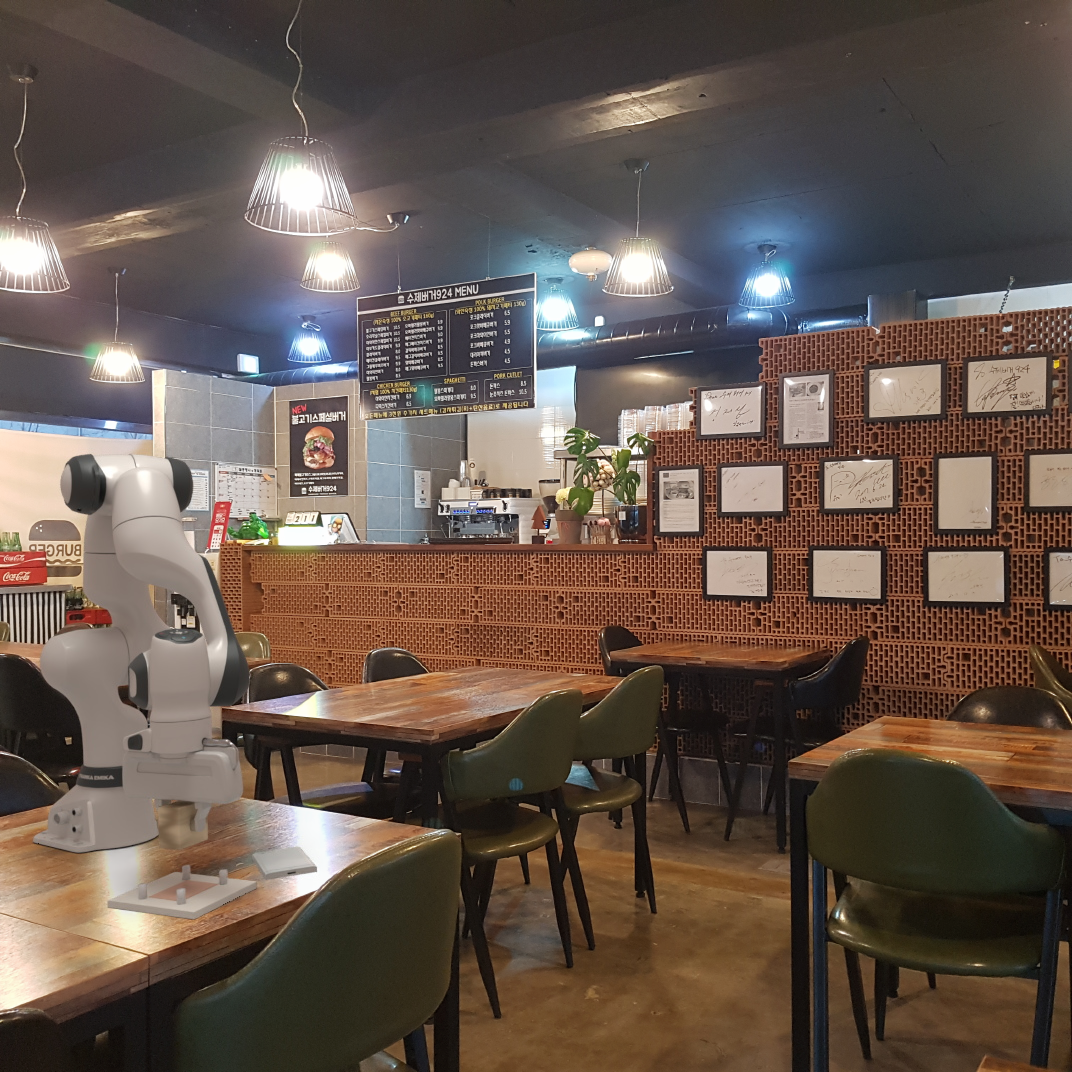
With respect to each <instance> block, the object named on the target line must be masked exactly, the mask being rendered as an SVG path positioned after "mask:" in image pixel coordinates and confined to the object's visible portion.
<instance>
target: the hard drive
mask: <svg viewBox="0 0 1072 1072" xmlns="http://www.w3.org/2000/svg"><path fill="white" fill-rule="evenodd" d="M251 860H252V862H253V863H254V865H255V866H256V868H257V869H258V870H259V872H260V874H261V875H262V877H263V878H264V880H265V881H268V880H274V879H279V878H280V879H281V878H286V877H292V876H298V875H305V874H311V873H317V872H318V866H317V865H316V864H315V863H314V862H313V861H312V860H311V858H310V857H309V856H308V855H307V853H306V852H305V851H304V850H303V848H302V847H300V846H293V847H286V848H285V847H284V848H279V849H273V850H266V851H265V850H264V851H259V852H254V853H253V854H251Z"/></svg>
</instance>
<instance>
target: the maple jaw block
mask: <svg viewBox="0 0 1072 1072" xmlns="http://www.w3.org/2000/svg"><path fill="white" fill-rule="evenodd" d="M197 811H198V809H195V802H190V801H176V800H175V801H174V802H171V803H170V804H167V805H164V806H161V807H158V812H157V818H158V819H157V828H158V830H159V834H158V849H165V850H175V851H182V850H184V849H186V848H190V847H191V846H194V845H197V844H200V843H202V842H204V841H207V840H208V839H209V826H208V816H207V817H206V818H205V819H206V828H205V830H203V831H200V832H196V831H191V830H190V820H191V819H194V818H195V816H196V813H197Z"/></svg>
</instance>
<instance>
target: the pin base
mask: <svg viewBox="0 0 1072 1072" xmlns="http://www.w3.org/2000/svg"><path fill="white" fill-rule="evenodd" d="M218 875H219V876H215V875H214V876H213V875H204V874H196V873H191V864H185V865H183V866H181V872H180V871H179V872H178V871H174V872H172V873H169V874H167V875H164V876H162V877H160V878H157V879H155V880H152V881H150V882H148V883H145V882H143V883H139V884H137V887H136V888H133V889H131V890H129V891H127V892H124V893H122V894H120V895H119V894H118V895H117V896H114V897H112V898H110V899H108V900H107V908H108V909H109V908H111V909H116V910H117V909H119V910H125V911H133V912H140V913H146V914H153V915H158V916H159V915H161V916H169V917H175V918H181V919H190V920H196V919H198V918H200V917H201V916H204V915H206V914H208V913H210V912H211V911H213V910H217V909H218V908H220V907H222V906H224V905H226V904H228V903H230V902H232V901H234V900H236V899H238V898H240V897H242V896H244V895H246V894H248V893H250V892H252V891H254V890H255V889H258V881H257V880H256V881H255V880H247V879H238V878H229V877H228V869H225V868H224V869H220V870H219V872H218ZM245 893H246V894H245ZM239 896H240V897H239ZM237 897H238V898H237ZM235 898H236V899H235ZM233 899H234V900H233ZM229 901H230V902H229ZM227 902H228V903H227ZM225 903H226V904H225ZM223 904H224V905H223Z"/></svg>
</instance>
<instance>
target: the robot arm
mask: <svg viewBox="0 0 1072 1072" xmlns="http://www.w3.org/2000/svg"><path fill="white" fill-rule="evenodd" d="M59 483H60V484H59V485H60V487H59V488H60V492H61V496H62V498H63V501H64V503H65V506H66V507H68V508H69V509H70V511H72V512H75V513H78V514H82V515H87V517H86V521H85V528H84V529H85V530H84V536H83V537H84V538H83V553H82V554H83V555H82V556H83V557H82V558H83V559H82V560H83V563H82V564H83V565H82V567H83V568H82V569H83V570H82V591H83V592H84V594H85V596H86V598H87V599H88V600H89V601H90V602H91V603H92V604H94V605H96V606H98V607H100V608H102V609H104V610H107V611H108V613H109V615H110V617H111V626H110V627H98V628H85V629H76V630H72V631H68V632H67V631H66V632H64V633H62V634H61V633H60V634H58V635H54V636H52V637H50V638H49V639H48V641H46V643H45V644H44V646H43V648H42V650H41V653H40V657H39V669H40V673H41V675H42V677H43V679H44V680H45V681H46V683H47V684H48V685H49V686H51V688H53V689H55V690H56V691H57V692H59V693H61V694H62V695H63V696H64V697H66V698H67V700H68V701H69V702H70V704H71V705H72V706H73V707H74V710H75V712H76V714H77V716H78V719H79V723H80V728H81V737H82V750H83V751H82V752H83V753H82V754H83V756H82V758H83V764H81V766H77V767H75V768H72V769H71V771H74V772H72V773H71V775H72V776H73V775H74V776H75V775H77V777H76V781H75V785H74V786H73V787H72V788H70V790H69V791H68V792H67V793H65V794H64V795H63V796H61V797H60V798H59V799H58V800H57V801H56V802H55V803H53V805H52V806H51V807H50V809H49V812H48V817H47V829H45V830H43V831H41V832H38V833H37V834H35V835H34V836H33V839H32V840H33V841H32V842H33V843H34V844H38V843H39V845H42V846H43V845H44V846H49V847H52V848H56V849H59V850H60V849H61V850H64V851H68V852H73V853H86V852H87V853H88V852H91V851H96V850H108V849H115V848H116V849H117V848H123V847H129V846H132V845H137V844H142V843H145V842H147V841H149V840H152V839H154V838H156V837H157V836H159V829H158V820H156V815H155V810H156V811H157V813H158V807H161V806H164V805H167V804H170V803H172V801H175V802H176V801H190V802H195V809H198V811H197V813H196V816H195V818H194V819H191V820H190V830H191V831H196V832H200V831H203V830H205V828H206V819H205V818H206V817H207V818H208V815H209V812H210V811H211V808H213V807H212V805H213V804H218V805H219V804H220V805H221V804H222V805H227V804H228V805H229V804H231V803H233V802H236V801H239V800H240V798H241V797H242V795H243V794H244V784H243V773H242V769H241V762H240V758H239V756H240V754H239V749H238V747H237V746H236V745H235V744H234V743H233V742H231V740H230V739H227V738H223V739H218V738H213V733H212V732H213V731H212V730H213V728H212V727H213V724H212V723H213V722H212V711H211V708H210V707H213V708H214V707H231V706H233V705H234V704H235V703H236V702H238V701H239V700H240V699H242V697H243V695H244V694H245V693H246V692H247V690H248V689H249V688H250V683H251V677H250V676H251V674H250V668H249V664H248V661H247V657H246V655H245V653H244V651H243V649H242V647H241V644H240V643H239V640H238V638H237V636H236V632H235V631H234V627H233V624H232V621H231V618H230V615H229V612H228V610H227V609H228V608H227V607H226V603H225V600H224V597H223V594H222V591H221V589H220V586H219V583H218V580H217V578H216V575H215V572H214V570H213V568H212V566H211V564H210V562H209V560H208V559H207V558H206V557H205V556H203V555H201V554H199V553H198V552H197V551H196V550H195V549H194V548H193V547H192V545H191V543H190V542H189V540H188V539H187V537H186V535H185V531H184V527H183V526H184V524H183V519H182V513H183V511H184V510H186V509H187V508H188V507H189V506H190V505H191V502H192V499H193V494H194V487H195V486H194V480H193V473H192V470H191V469H190V467H189V465H188V464H187V462H185V461H183V460H181V459H179V458H175V457H174V458H173V457H169V456H165V457H159V456H155V455H154V456H153V455H146V454H138V453H137V454H135V453H129V454H101V455H93V454H92V453H87V454H80V455H75V456H72V457H71V458H70V459H69V460H68V461H67V462H66V463H65V465H64V467H63V471H62V473H61V476H60V481H59ZM149 585H152V586H156V587H158V588H159V587H160V588H163V589H165V590H168V591H172V592H174V593H177V594H178V595H181V596H182V597H184V598H185V599H187V600H188V601H189V602H190V603H191V604H192V605H193V606H194V607H193V608H194V609H195V612H196V614H197V617H198V621H199V623H200V627H201V629H202V633H201V631H198V630H195V629H192V628H191V629H187V628H171V626H169V625H168V624H166V623H165V622H164V620H162V618H161V617H160V616H159V614H158V613H157V611H156V609H155V607H154V605H153V601H152V598H151V595H150V588H149V587H150V586H149ZM120 686H128V689H127V690H128V691H127V692H128V695H127V696H128V699H129V700H130V701H131V702H132V703H134V704H135V705H136V706H137V707H138V708H140V709H142V710H147V711H151V712H150V716H149V723H148V721H147V718H146V717H145V715H144V714H143V712H141V711H140V710H139V709H137V708H135V707H133V706H131V705H128V704H126V703H123V702H122V700H121V698H120V695H119V687H120ZM148 724H149V725H148ZM148 726H149V727H148ZM75 770H77V771H75ZM153 800H154V803H153ZM154 808H155V809H154Z"/></svg>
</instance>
